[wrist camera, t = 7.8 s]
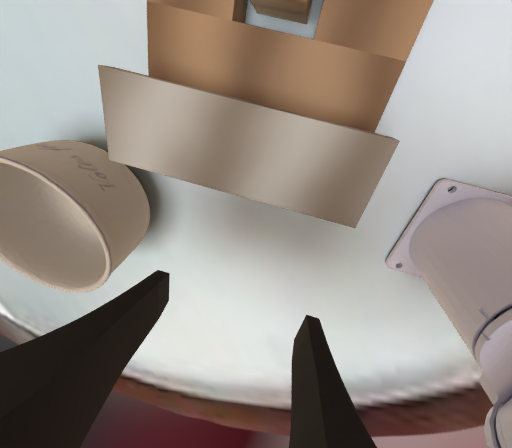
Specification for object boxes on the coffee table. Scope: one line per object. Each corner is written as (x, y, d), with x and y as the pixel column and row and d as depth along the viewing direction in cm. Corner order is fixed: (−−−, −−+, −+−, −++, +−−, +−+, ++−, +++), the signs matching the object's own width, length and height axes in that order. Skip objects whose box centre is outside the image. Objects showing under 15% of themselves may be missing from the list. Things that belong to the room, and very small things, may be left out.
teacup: (162, 145, 19) (80, 173, 12) (170, 251, 24) (117, 312, 17) (13, 118, 20) (-136, 130, 13) (52, 224, 26) (-40, 271, 19)
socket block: (444, -61, 11) (582, -216, 6) (339, 186, 18) (355, 227, 12) (172, -116, 12) (55, -300, 6) (168, 140, 19) (109, 160, 13)
